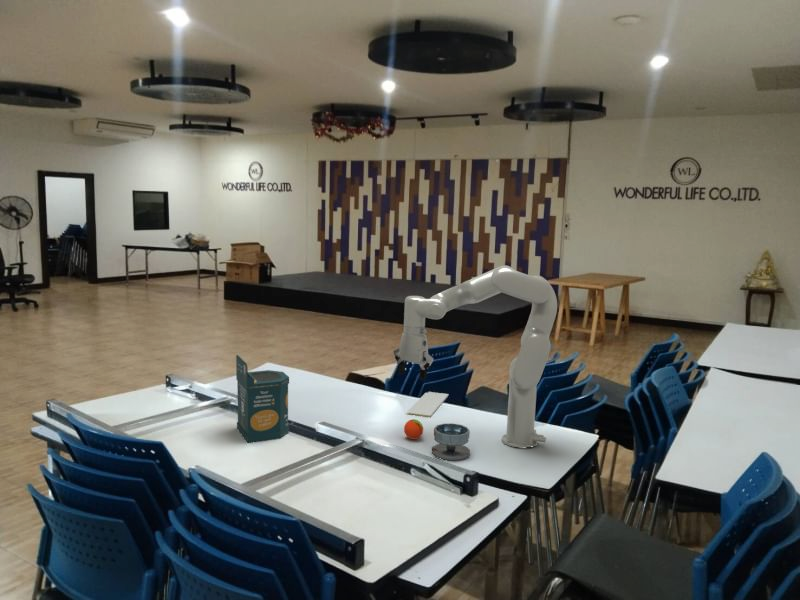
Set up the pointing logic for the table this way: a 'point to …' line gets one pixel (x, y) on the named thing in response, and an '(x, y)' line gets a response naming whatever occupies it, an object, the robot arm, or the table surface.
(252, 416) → the donation box
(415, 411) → the baseboard molding
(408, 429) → the clementine
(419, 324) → the robot arm
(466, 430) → the stand
